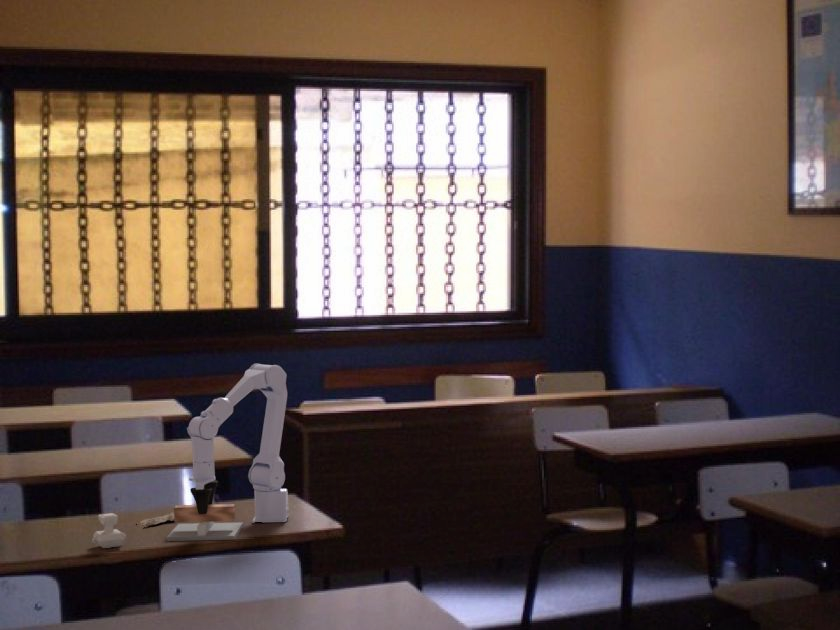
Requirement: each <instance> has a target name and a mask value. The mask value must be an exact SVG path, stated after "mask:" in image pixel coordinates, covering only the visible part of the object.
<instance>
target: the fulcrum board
mask: <svg viewBox="0 0 840 630" xmlns="http://www.w3.org/2000/svg"><path fill="white" fill-rule="evenodd" d="M243 527H244V522H192V523H177V525H176V526H175V527H174V528H173V529H172V530H171V532H170V533H169V534H168V535H167V536H166V542H175V541H176V542H179V541H184V542H185V541H219V540H220V541H223V540H226V541H228V540H230V541H231V540H235V539H236V538H237V537H238V535H239V534H240V532H241V530H242V529H243ZM241 528H242V529H241Z"/></svg>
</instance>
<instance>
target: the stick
mask: <svg viewBox="0 0 840 630" xmlns="http://www.w3.org/2000/svg"><path fill="white" fill-rule="evenodd" d="M173 512H174V520H173V521H174V523H200V522H214V523H216V522H234V521H235V520H236V504H235V503H228V504H227V503H224V504H212V505H208V510H207V514H199V513H198V510H197V506H196V504H183V505H181V504H180V505H179V504H178V505H175V506H174V507H173Z"/></svg>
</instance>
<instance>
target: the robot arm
mask: <svg viewBox="0 0 840 630" xmlns="http://www.w3.org/2000/svg"><path fill="white" fill-rule="evenodd" d="M286 383H287V373H286V371H284V369H283V368H282V367H281V366H280V365H278V364H273V365H271V364H262V363H253V364H251V366H250V367H249V368H248V369H246V370H245V372H244V375H243V376H242V378H241V379H240V380H239V381H238V382H237V383H236V384H235V385H234V386H233V388H232V389H231V390H230V391H228V393H227V394H226V395H225V397H217V398H214V399H213V400H212V402H211V404H210V405H209V406H208V407H207V408H206V409H205V410H202V411H201V412H200V416H195V417H193V418H192V419H191V420H190V422H189V424H188V427H186V430H187V434H188V435H189V436H190V441H191V445H192V447H191V448H192V471H193V472H192V476H189V477H188V481H189V482H190V481H192V482H193V483H194V484H195V487H191V488H190V489H189V490H190V493H191V495H192V496H193V497H192V498H193V499H194V502H195V505H196V506H197V510H198V513H199V514H207V510H208V505H213V503H214V496H215V491H216V488H217V486H218V483H219V481H218V480H216V475H215V474H216V472H215V471H216V470H215V443H214V437H216V436H217V434H218V431H219V429H220V426H221V425H222V424H223V423H224V422H225V421H226V420H227V419H228V418H229V417H230V416H231V415H232V414H233V413H234V407H235V406H236V405H237V404H238V403H239V402H240V401H241V400H243V399H244V398H245V397H246V396H247V395H248V394H250V392H252V391H254V390H260V391H261V392H262V393H263V395H264V396H265V397H266V405H265V413H264V414H265V415H264V420H263V427H262V434H261V439H260V440H261V441H260V447H259V448H260V449H259V453H258V454H257V455H256V456H255V457H254V458H253V460H252V465H251V467H250V468H249V471H248V475H247V477H248V480H249V483H251V485H252V489H253V490H254V491H253V494H254V517H253V519H252V520H251V521H252V522H251V523H252V524H253V523H254V524H255V522H262V523H285V522H287V521H288V519H289V517H288V516H290V515H289V514H290V510H289V492H288V489H287V488H282V487H283V486H284V483H285V480H286V473H285V463H284V461H283V460H282V458H281V456H280V450H281V445H282V444H281V443H282V438H283V437H282V435H283V430H284V424H285V423H284V422H285V415H286V414H285V413H286V409H287V408H286V407H287V401H288V389H287V384H286ZM287 518H288V519H287Z"/></svg>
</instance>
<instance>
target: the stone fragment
mask: <svg viewBox="0 0 840 630" xmlns="http://www.w3.org/2000/svg"><path fill="white" fill-rule="evenodd" d="M167 521H171V522H172V521H174V511H171V512H170V513H168V514H164V515H162V516H161V515H160V516H157V517H149V518H145V519H143V520H140V521H139V522H140V523H141V525H142V523H143V525H146V526H145V528H147V527H149V526H153V525H157V524H160V523H165V522H167Z"/></svg>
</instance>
